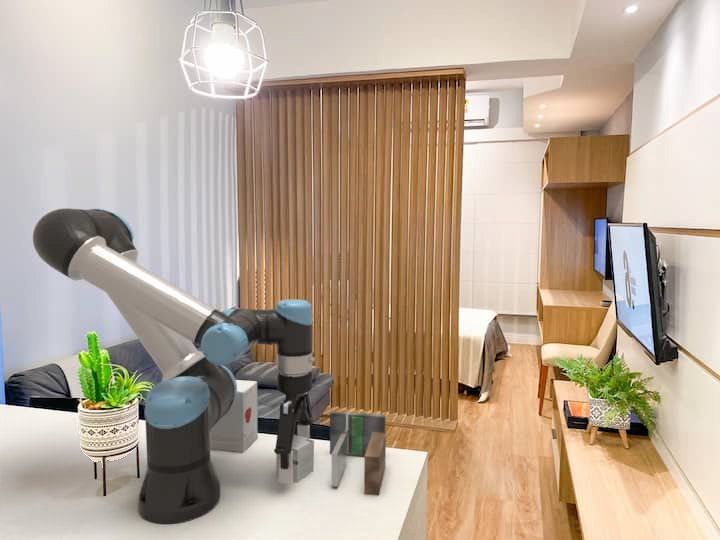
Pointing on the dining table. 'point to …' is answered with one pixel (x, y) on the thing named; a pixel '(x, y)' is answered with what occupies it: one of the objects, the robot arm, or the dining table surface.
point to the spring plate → (339, 455)
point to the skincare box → (300, 458)
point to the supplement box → (237, 421)
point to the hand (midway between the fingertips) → (295, 466)
